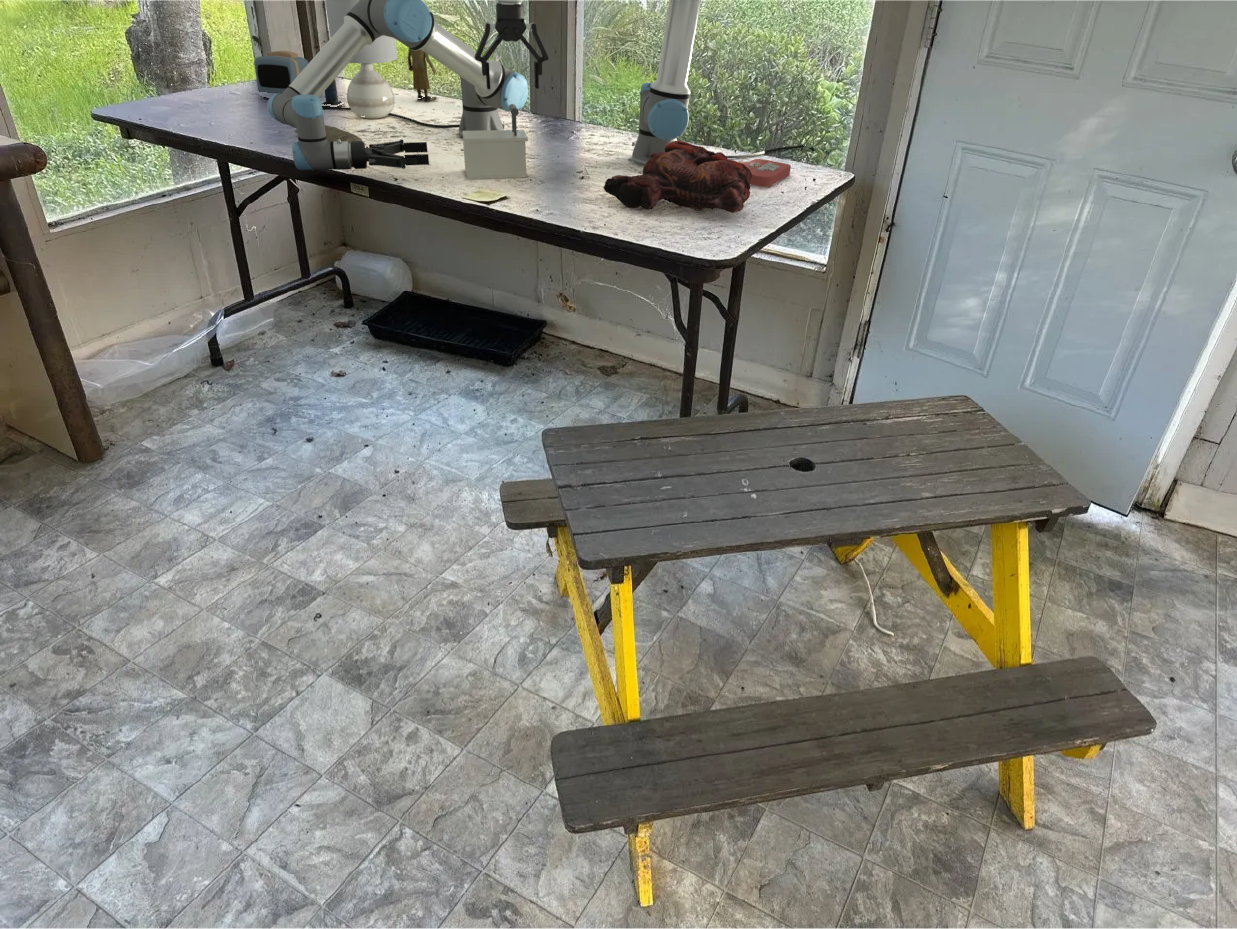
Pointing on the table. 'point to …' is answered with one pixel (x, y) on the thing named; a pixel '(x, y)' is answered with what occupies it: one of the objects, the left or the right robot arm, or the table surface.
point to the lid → (498, 132)
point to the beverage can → (331, 95)
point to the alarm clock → (278, 70)
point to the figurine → (420, 72)
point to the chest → (495, 159)
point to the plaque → (767, 172)
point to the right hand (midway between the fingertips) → (512, 88)
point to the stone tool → (339, 135)
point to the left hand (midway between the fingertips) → (428, 153)
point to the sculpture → (685, 180)
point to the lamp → (365, 67)
